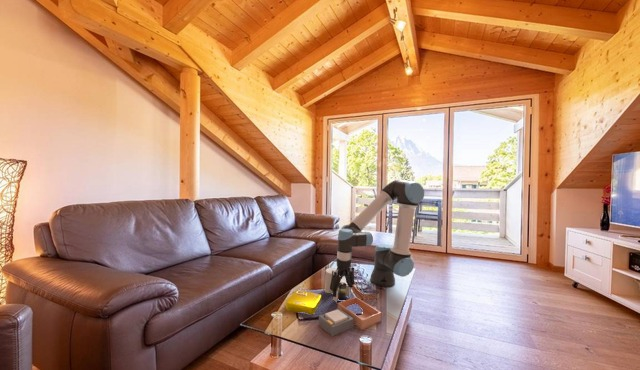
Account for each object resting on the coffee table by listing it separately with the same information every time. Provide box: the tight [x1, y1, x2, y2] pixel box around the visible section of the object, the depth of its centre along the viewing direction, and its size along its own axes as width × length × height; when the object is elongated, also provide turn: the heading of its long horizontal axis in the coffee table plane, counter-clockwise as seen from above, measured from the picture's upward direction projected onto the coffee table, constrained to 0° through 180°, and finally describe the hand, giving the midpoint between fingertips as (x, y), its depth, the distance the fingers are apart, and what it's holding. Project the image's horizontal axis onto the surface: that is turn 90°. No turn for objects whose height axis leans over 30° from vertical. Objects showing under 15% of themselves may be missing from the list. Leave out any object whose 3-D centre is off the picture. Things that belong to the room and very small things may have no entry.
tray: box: [336, 296, 382, 331], centre depth 134 cm, size 12×17×4 cm
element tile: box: [285, 289, 322, 314], centre depth 142 cm, size 15×15×5 cm
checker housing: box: [318, 309, 354, 337], centre depth 126 cm, size 12×10×5 cm
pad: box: [324, 309, 348, 325], centre depth 126 cm, size 7×7×3 cm
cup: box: [324, 267, 338, 293], centre depth 158 cm, size 8×8×12 cm
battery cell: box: [338, 281, 348, 300], centre depth 149 cm, size 4×4×10 cm
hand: (341, 299), depth 149 cm, fingers open, 8 cm apart
